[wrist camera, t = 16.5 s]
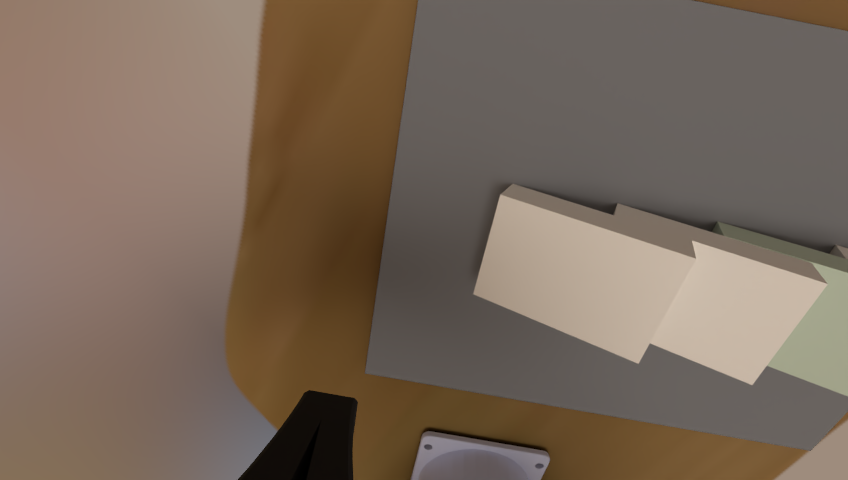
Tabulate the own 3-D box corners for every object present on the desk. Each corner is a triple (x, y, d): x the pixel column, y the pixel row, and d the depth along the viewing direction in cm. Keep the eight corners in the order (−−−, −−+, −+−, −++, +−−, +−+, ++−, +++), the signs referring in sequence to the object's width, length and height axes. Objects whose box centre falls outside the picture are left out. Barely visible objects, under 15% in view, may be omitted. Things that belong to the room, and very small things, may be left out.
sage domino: (717, 221, 18) (923, 281, 16) (668, 309, 20) (843, 373, 18) (724, 235, 16) (952, 304, 14) (670, 329, 19) (861, 401, 16)
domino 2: (617, 203, 18) (811, 263, 16) (579, 293, 20) (744, 358, 18) (614, 215, 16) (828, 283, 14) (573, 312, 19) (752, 385, 16)
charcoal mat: (805, 444, 24) (810, 450, 24) (366, 368, 24) (365, 373, 23) (1131, 88, 15) (1147, 90, 15) (426, -51, 15) (425, -53, 14)
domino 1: (512, 183, 18) (691, 240, 15) (486, 277, 20) (639, 338, 18) (500, 194, 16) (696, 258, 14) (473, 294, 18) (638, 363, 16)
